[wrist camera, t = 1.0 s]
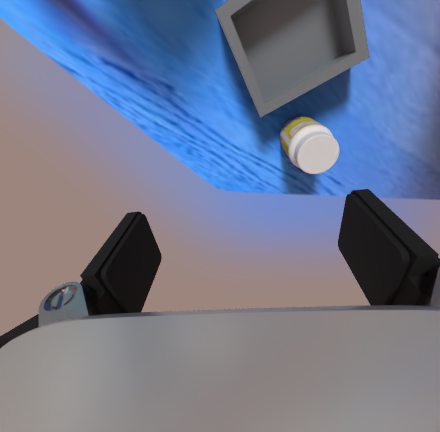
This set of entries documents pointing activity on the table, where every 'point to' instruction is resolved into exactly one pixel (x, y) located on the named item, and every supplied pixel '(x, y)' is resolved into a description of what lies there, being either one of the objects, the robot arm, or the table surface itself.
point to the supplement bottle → (309, 144)
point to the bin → (292, 44)
